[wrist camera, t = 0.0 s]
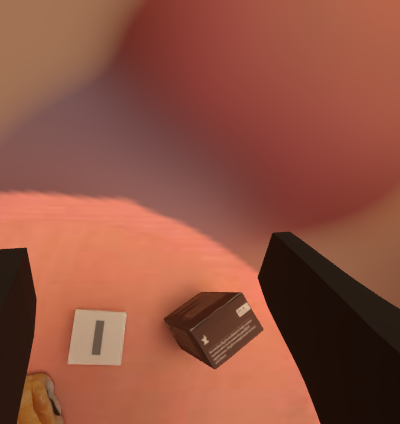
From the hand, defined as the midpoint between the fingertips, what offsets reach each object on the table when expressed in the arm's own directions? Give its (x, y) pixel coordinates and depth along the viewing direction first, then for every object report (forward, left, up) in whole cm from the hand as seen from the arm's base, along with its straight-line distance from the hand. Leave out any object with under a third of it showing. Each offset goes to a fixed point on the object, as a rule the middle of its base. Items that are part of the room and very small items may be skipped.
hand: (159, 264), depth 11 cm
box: (-5, -9, -32) cm, 34 cm away
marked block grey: (-5, +2, -32) cm, 33 cm away
